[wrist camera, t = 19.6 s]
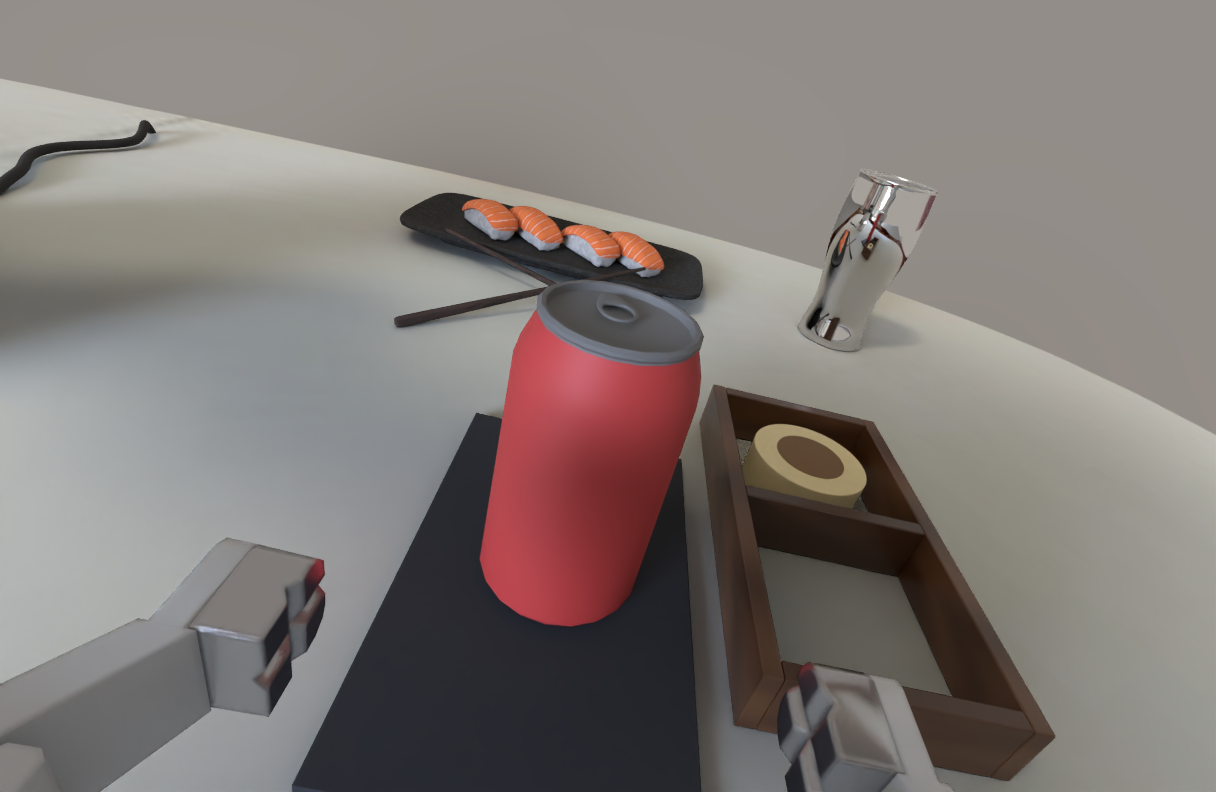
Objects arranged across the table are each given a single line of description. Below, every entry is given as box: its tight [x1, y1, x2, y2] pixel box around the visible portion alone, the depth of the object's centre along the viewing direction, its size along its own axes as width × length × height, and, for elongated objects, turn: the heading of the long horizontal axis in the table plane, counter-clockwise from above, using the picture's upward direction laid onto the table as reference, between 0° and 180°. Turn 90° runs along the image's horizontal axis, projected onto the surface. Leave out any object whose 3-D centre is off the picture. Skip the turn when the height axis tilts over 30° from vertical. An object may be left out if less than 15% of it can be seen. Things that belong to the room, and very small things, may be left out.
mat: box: [292, 413, 701, 792], centre depth 26 cm, size 20×12×1 cm, turn 176°
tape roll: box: [742, 424, 867, 509], centre depth 34 cm, size 6×6×3 cm
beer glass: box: [798, 169, 938, 351], centre depth 55 cm, size 7×7×15 cm
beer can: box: [480, 280, 704, 627], centre depth 23 cm, size 7×7×12 cm
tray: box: [700, 385, 1055, 781], centre depth 30 cm, size 20×11×3 cm, turn 176°
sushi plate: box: [394, 193, 703, 327], centre depth 53 cm, size 29×30×4 cm
